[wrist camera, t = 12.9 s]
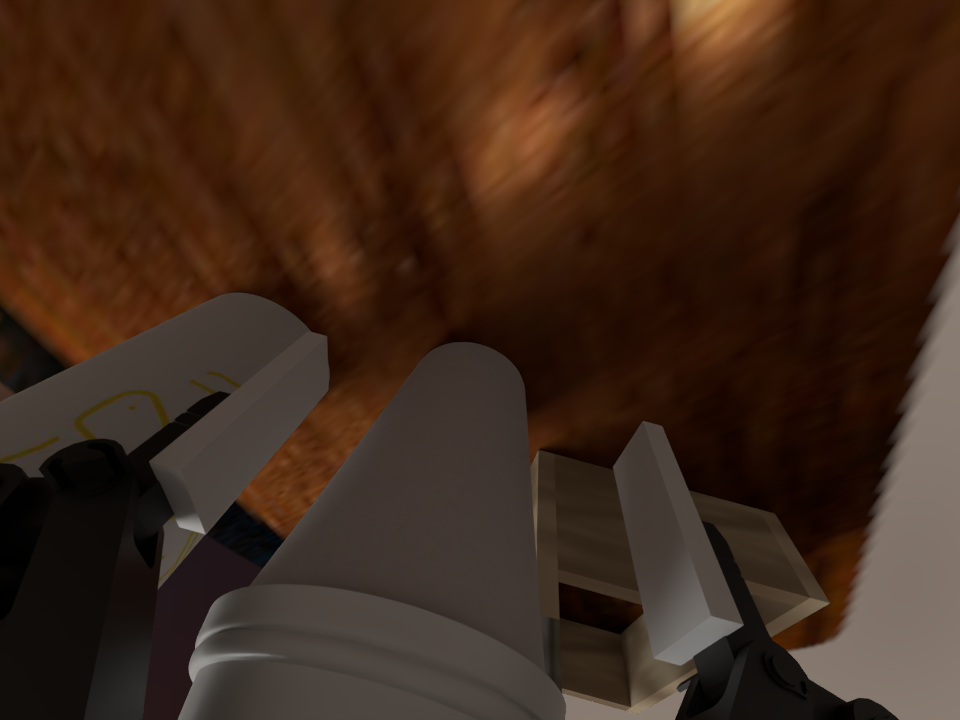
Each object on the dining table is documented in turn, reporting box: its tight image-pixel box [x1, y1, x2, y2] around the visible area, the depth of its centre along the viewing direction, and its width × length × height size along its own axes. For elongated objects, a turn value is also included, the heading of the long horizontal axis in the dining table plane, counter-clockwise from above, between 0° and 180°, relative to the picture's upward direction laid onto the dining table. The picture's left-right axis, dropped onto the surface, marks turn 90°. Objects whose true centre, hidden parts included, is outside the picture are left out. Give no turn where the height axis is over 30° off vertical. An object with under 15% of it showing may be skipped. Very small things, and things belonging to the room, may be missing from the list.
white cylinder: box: [0, 293, 330, 589], centre depth 16 cm, size 8×8×12 cm
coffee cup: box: [178, 342, 566, 720], centre depth 14 cm, size 10×10×15 cm
